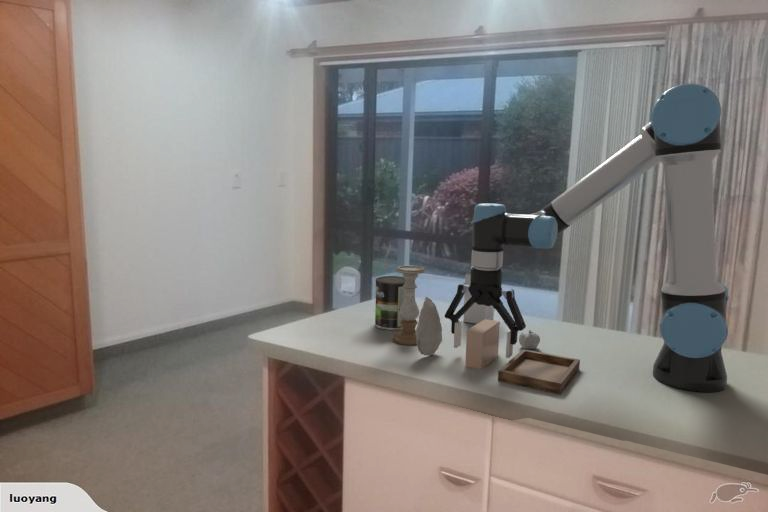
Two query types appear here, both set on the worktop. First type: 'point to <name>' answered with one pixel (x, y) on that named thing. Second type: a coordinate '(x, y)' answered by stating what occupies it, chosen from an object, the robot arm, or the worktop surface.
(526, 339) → the garlic
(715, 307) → the robot arm
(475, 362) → the tan rectangular block
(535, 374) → the tray
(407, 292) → the candle holder
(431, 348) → the stone tool
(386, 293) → the coffee can
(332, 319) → the worktop surface
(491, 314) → the milk carton
